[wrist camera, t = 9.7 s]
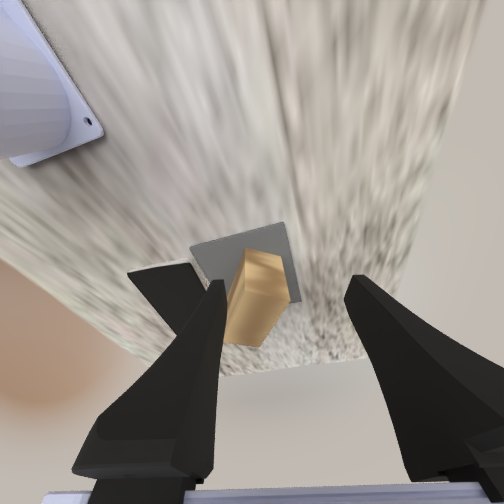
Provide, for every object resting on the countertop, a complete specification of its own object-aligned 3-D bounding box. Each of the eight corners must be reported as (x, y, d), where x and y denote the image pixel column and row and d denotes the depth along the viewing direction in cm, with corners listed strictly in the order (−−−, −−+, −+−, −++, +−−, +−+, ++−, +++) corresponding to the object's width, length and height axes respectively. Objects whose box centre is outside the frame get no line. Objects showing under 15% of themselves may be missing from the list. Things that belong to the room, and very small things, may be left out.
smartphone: (190, 260, 21) (231, 335, 30) (193, 253, 22) (231, 328, 31) (123, 273, 22) (181, 342, 31) (128, 266, 23) (183, 335, 32)
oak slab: (227, 296, 25) (222, 342, 20) (245, 247, 21) (244, 291, 16) (257, 302, 26) (259, 347, 21) (280, 256, 21) (290, 300, 17)
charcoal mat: (190, 246, 21) (189, 248, 21) (283, 221, 19) (284, 223, 19) (230, 313, 28) (229, 315, 27) (300, 298, 26) (301, 301, 26)
